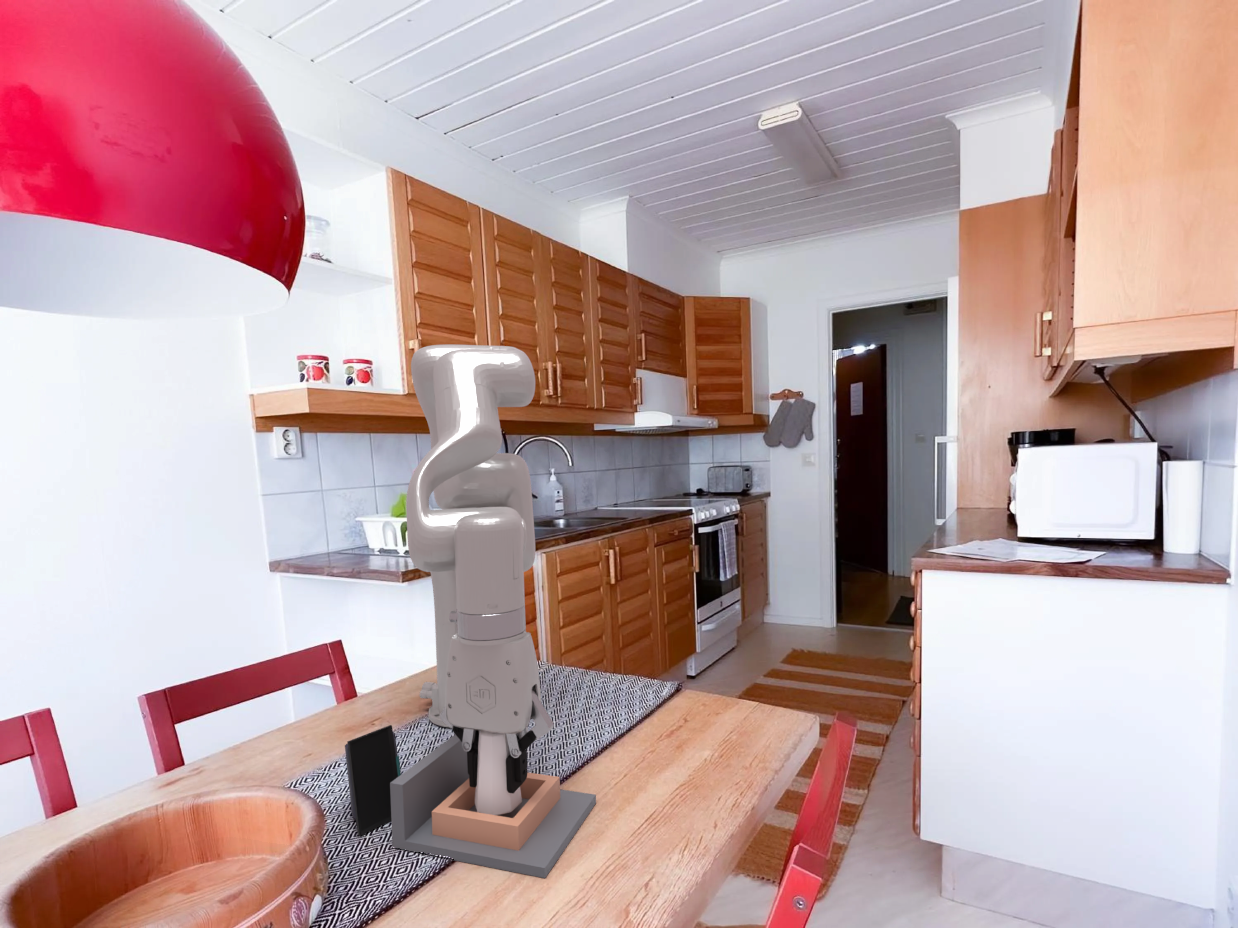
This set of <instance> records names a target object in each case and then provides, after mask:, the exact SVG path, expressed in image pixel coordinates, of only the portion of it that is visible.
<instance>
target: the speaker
mask: <svg viewBox="0 0 1238 928" xmlns="http://www.w3.org/2000/svg"><path fill="white" fill-rule="evenodd" d="M396 739H397V737H396V732H394V731H393V725H392V724H390V725H387V726H384V727H382V728H379V729H376V730H373V731H371V732H369V733H366V734H363V735H360V736H358V737H355V738H352V739H350V740H348V741H346V742H347V743H346V744H344V752H345V761H346V770H347V779H348V789H349V801H350V807H351V809H350V810H351V815H352V817H353V819H354V820H355V822H356V830H357V836H358V835H359V836H361V835H363V834H364V835H366V834H368V833H370V832H372V831H374V830H376V829H378V828H380V827H382V826H384V825H386V824H389V822H392V820H391V795H390V783H391V782H392V781H393V780H395V779H396V778H397V777H399V776H400V775H401V774H402V771H401V762H400V755H399V754H398V748H397V740H396ZM385 823H386V824H385ZM383 824H384V825H383ZM381 825H382V826H381ZM379 826H380V827H379ZM377 827H378V828H377ZM375 828H376V829H375ZM373 829H374V830H373ZM371 830H372V831H371ZM369 831H370V832H369ZM367 832H368V833H367ZM365 833H366V834H365ZM364 835H363V836H364ZM359 836H358V837H359ZM361 837H362V836H361Z"/></svg>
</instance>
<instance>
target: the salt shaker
mask: <svg viewBox="0 0 1238 928" xmlns="http://www.w3.org/2000/svg"><path fill="white" fill-rule="evenodd" d="M509 755H510V750H509V745H508V740H507V735H506V734H505V733H496V732H488V731H479V742H478V764H477V786H476V788H475V806H476V809H477V812H479V813H485V814H491V815H501V814H506V813H510V812H512V811H513V810H514V809H515V808H516V807H517V806H518V805H520V804H521V802H522V797H521V790H520V787H519V788H518V789H517V790H516V791H515V792H514V793H508V791H507V781H506V758H507V757H508V756H509Z"/></svg>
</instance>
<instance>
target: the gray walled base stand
mask: <svg viewBox="0 0 1238 928" xmlns="http://www.w3.org/2000/svg"><path fill="white" fill-rule="evenodd" d="M560 780H561V779H560V776H555V775H549V774H541V773H535V772H528V771H527V778H526V780H525V781H524V783H523V784H522V785H521V786H520V790H521V797H522V802H521V804H520V805H518V806H517V807H516V808H515V809H514V810H513V811H512V812H510V813H506V814H501V815H491V814H485V813H479V812H477V809H476V806H475V788H476V787H470V784H469V774H468V766H467V751H464V750H463V748H462V742H461V741H460V739H459V738H458V737H457V736H456V734H455V733H454V734H453V735H452V736H451V737H450V738H448V739H447V740H445V741H444V742H443V743H441V744H440V745H439V746H438V747H436V748H435V749H434V750H432V751H431V752H429V753H427V754H426V756H424V757H423V758H421V759H420V760H418V761H417V762H415V764H413V765H412V766H411V767H409V768H408V769H407V770H406V771H404V772H403V773H401V775H400V776H399V777H397V778H396V779H395V780H393V781H392V782H391V783H390V795H391V820H392V821H391V837H392V838H391V841H392V844H391V845H392V848H393V847H396V848H400V849H406V850H409V851H408V852H410V851H415V852H424V853H431V854H434V855H441V856H448V857H451V858H453V859H454V860H453V861H457V862H462V863H467V864H472V865H477V866H483V867H486V868H492V869H496V870H503V871H507V872H513V873H517V874H521V875H522V874H523V875H527V876H532V877H537V878H542V879H546V878H547V876H548V875H549V873H550V872H551V871H552V869H553V867H554V866H555V864H556V863H557V862H558V860H559V859H560V857H561V855H562V854H563V852H564V851H565V850H566V848H567V847H568V846H569V844H570V842H571V841H572V839H573V838H574V837H575V835H576V833H577V832H578V831H579V830H580V827H581V826H582V825H583V823H584V821H585V820H586V819H587V817H588V816H589V815H590V812H591V811H592V810H593V809H594V807H595V805H596V804H597V794H594V793H590V792H589V793H587V792H581V791H573V790H569V789H568V790H566V789H561V781H560ZM400 849H399V850H400ZM415 852H414V853H415Z"/></svg>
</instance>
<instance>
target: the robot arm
mask: <svg viewBox="0 0 1238 928" xmlns="http://www.w3.org/2000/svg"><path fill="white" fill-rule="evenodd" d="M410 370H411V380H412V384H413V388H414V391H415V396H416V397H417V401H418V403H419V406H420V407H421V410H422V412H423V413H422V414H423V415H424V417H425V419H426V421H427V425H428V429H429V435H430V450H429V451H427V453H426V454H425V455H424V457H423V458H422V459H421V460H420V462H419V463H418V464H417V466H416V468H415V469H414V471H413V473H412V475H411V477H410V480H409V484H408V486H407V491H406V503H405V506H406V507H405V508H406V536H407V547H408V554H409V558H410V560H411V561H412V563H413V565H414V567H416V568H417V569H418V570H420V571H422V572H426V573H430V576H431V577H430V578H431V585H432V593H433V607H434V625H435V626H434V627H435V629H434V631H435V632H434V633H435V650H436V651H435V654H436V655H435V656H436V676H437V677H436V680H437V683H436V682H433V681H432V682H431V681H425V682H423V684H422V686H421V690H420V691H419V698H421V699H426V700H427V699H428V700H429V699H431V702H432V705H431V706H430V707H429V709H428V719H429V721H430V722H431V723H433V724H434V725H436V726H439V727H443V728H450V729H452V732H453V734H454V735H455V734H456V736H457V737H458V738H459V739H460V741H461V742H462V748H463V750H464V751H467V766H468V774H469V784H470V787H476V786H477V764H478V742H479V731H488V732H496V733H505V734H506V735H507V740H508V745H509V750H510V755H509V756H508V757H507V758H506V781H507V791H508V793H514V792H515V791H516V790H517V789H518V788H519V787H520V786H521V785H522V784H523V783H524V781H525V780H526V778H527V772H528V756H527V755H528V754H527V753H528V751H527V749H528V748H529V747H530V746H531V745H532V744H533V743H534V742H535V741H537V740H539V739H541V738H542V737H544V736H545V735H548V734H549V733H550V731H551V730H552V729H554V727H555V725H554V722H553V720H552V718H551V717H550V715H549V713H548V712H547V710H546V709H545V707H544V705H543V703H542V697H541V696H542V695H541V694H542V693H541V681H540V674H539V673H540V672H539V666H538V665H539V663H538V660H537V654H536V649H535V645H534V644H535V643H534V641H533V637H532V635H531V634H532V633H531V632H529V631H528V632H527V630H526V629H527V627H526V625H527V624H526V604H525V603H526V600H525V599H526V597H525V594H526V593H525V574H524V573H525V572H527V571H529V570H530V569H531V568H532V567H533V566H534V563H535V560H536V559H535V558H536V535H535V521H534V520H535V518H534V510H533V509H534V506H533V505H534V504H533V493H532V481H531V474H530V471H529V470H530V469H529V467H528V464H527V462H526V460H525V459H524V458H523V457H522V456H521V455H518V454H516V453H510V452H509V453H508V452H501V453H500V452H499V451H500V449H501V447H502V444H503V435H502V429H501V422H500V415H499V410H498V408H522V407H527V406H529V404H531V402H532V400H533V398H534V396H535V391H536V375H535V374H536V373H535V370H534V367H533V364H532V362H531V360H530V358H529V356H528V355H527V354H526V352H524V351H523V350H521V349H519V348H517V347H515V346H508V345H506V346H505V345H485V344H484V345H482V344H481V345H480V344H478V345H477V344H454V343H453V344H449V343H448V344H432V345H427V346H424V347H421V348H419V349H417V350H416V351H415V352H414V353H413V355H412V357H411V361H410ZM432 493H433V495H434V500H435V503H436V504H437V506H438V508H439V509H431V508H430V498H431V495H432ZM531 720H533V722H534V726H533V727H531V728H530V729H529V725H530V721H531Z"/></svg>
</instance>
